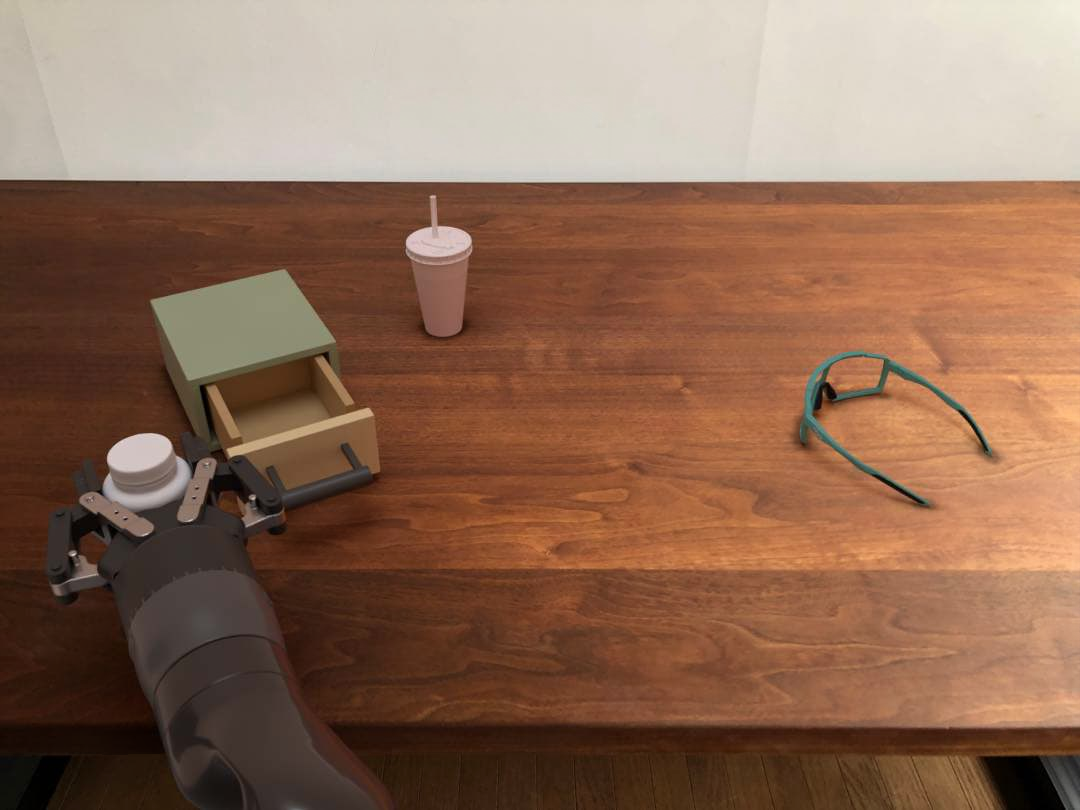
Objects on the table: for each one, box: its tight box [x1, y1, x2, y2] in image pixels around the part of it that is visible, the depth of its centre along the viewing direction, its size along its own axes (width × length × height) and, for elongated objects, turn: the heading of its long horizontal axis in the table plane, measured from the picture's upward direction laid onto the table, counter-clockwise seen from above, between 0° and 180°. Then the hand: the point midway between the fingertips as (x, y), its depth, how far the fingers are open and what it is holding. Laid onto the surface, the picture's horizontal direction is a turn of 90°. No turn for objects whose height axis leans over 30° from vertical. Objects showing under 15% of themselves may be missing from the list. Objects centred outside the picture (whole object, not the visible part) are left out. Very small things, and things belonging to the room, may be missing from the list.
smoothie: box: [405, 194, 473, 338], centre depth 102 cm, size 6×6×14 cm
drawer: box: [201, 353, 381, 516], centre depth 85 cm, size 18×11×6 cm, turn 28°
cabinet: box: [149, 268, 343, 453], centre depth 95 cm, size 15×13×8 cm
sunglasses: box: [799, 350, 994, 507], centre depth 90 cm, size 14×15×5 cm
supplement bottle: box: [102, 432, 193, 513], centre depth 69 cm, size 6×6×10 cm
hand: (139, 457), depth 69 cm, fingers closed on supplement bottle, 5 cm apart
